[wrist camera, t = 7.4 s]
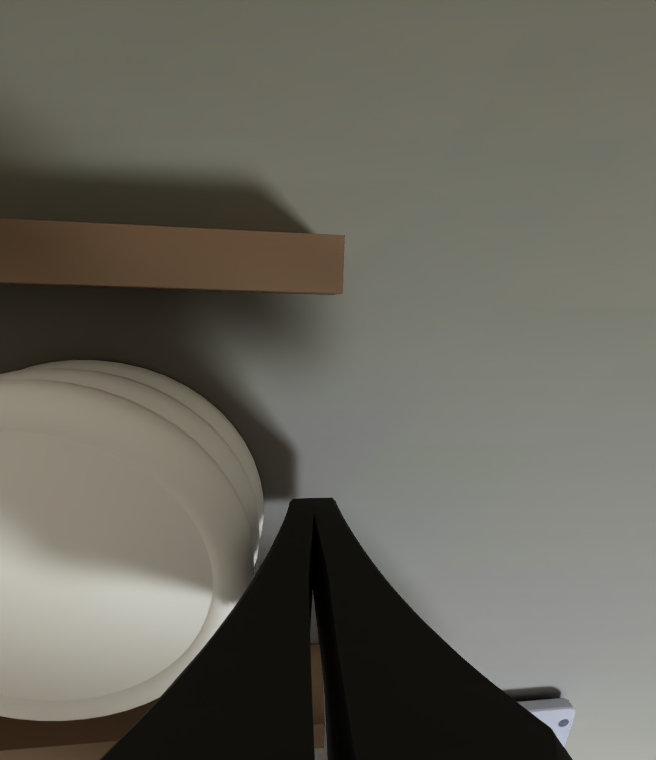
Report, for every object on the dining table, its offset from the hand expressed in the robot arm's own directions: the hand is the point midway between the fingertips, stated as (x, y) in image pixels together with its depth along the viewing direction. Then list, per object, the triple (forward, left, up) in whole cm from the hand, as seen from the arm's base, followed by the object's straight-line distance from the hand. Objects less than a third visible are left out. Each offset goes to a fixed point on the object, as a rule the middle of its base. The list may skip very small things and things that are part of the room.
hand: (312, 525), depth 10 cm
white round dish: (0, +7, -2) cm, 7 cm away
